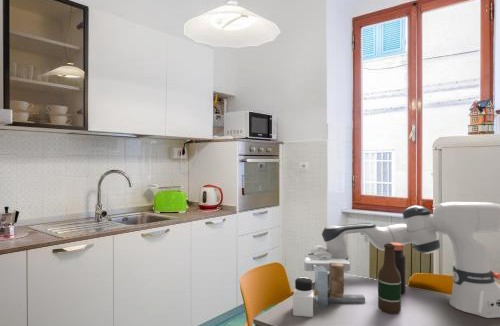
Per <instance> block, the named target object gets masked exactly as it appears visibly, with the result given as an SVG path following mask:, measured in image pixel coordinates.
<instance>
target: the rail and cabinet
mask: <svg viewBox="0 0 500 326" xmlns="http://www.w3.org/2000/svg"><path fill="white" fill-rule="evenodd" d="M314 291H316V295H314V301H315V302H316V305H317V307H326V308H327V307H328V304H330V303H333V304H365V303H366V297H365V295H363V294H343V298H338V297H329V295H327V291H328V271H327V270H326V269H325V267H324V266H315V271H314Z"/></svg>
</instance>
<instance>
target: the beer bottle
mask: <svg viewBox="0 0 500 326" xmlns="http://www.w3.org/2000/svg"><path fill="white" fill-rule="evenodd" d="M384 247H385V250H384V256H383V264H382V267H381V268H380V269H379V272H378V274H377V275H378V277H377V307H378V310H379V311H380V312H382V313H385V314H387V315H399V313H401V311H402V295H401V275H400V273H399V271H398V269H397V268H396V265H395V253H394V248H395V245H393V244H389V243H388V244H385V245H384Z"/></svg>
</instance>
